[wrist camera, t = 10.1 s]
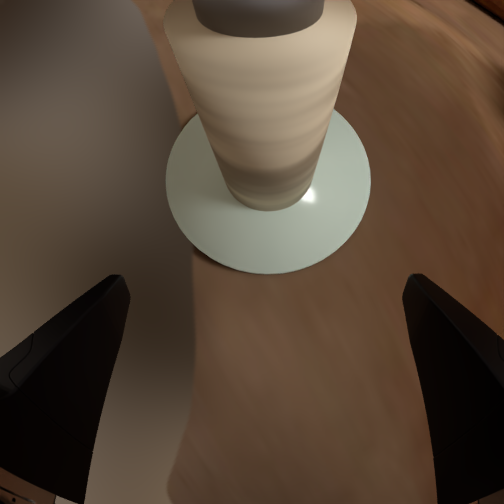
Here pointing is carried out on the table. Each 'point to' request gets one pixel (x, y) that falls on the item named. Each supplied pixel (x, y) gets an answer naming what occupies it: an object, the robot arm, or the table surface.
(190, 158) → the pale green coaster
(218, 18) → the pepper mill
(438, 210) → the table surface
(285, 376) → the table surface
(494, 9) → the bread
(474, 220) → the table surface
